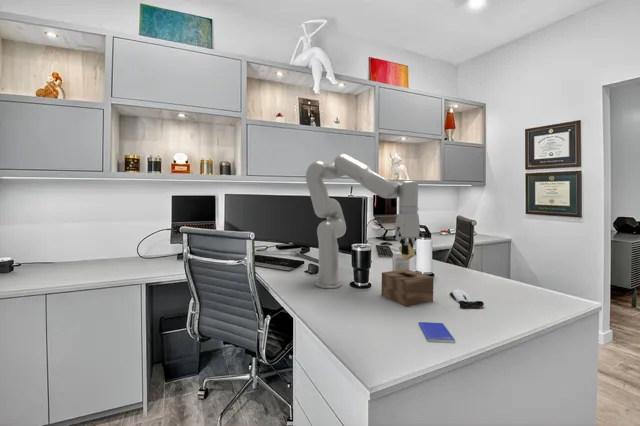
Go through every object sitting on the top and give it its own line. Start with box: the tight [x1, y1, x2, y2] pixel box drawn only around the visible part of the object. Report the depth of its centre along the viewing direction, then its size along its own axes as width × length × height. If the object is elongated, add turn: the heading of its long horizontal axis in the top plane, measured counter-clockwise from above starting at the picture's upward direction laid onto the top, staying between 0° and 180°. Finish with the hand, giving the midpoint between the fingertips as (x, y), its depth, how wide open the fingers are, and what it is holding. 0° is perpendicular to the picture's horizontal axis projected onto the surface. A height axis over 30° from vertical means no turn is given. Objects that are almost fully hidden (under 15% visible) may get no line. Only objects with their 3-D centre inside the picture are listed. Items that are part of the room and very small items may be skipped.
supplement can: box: [391, 251, 411, 271], centre depth 158 cm, size 8×8×15 cm
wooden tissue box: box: [380, 269, 435, 307], centre depth 134 cm, size 16×14×10 cm
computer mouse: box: [448, 289, 485, 309], centre depth 131 cm, size 10×18×4 cm, turn 1°
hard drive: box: [417, 321, 456, 344], centre depth 101 cm, size 2×8×12 cm
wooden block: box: [398, 241, 416, 260], centre depth 134 cm, size 5×2×6 cm
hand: (407, 253), depth 133 cm, fingers closed on wooden block, 2 cm apart
